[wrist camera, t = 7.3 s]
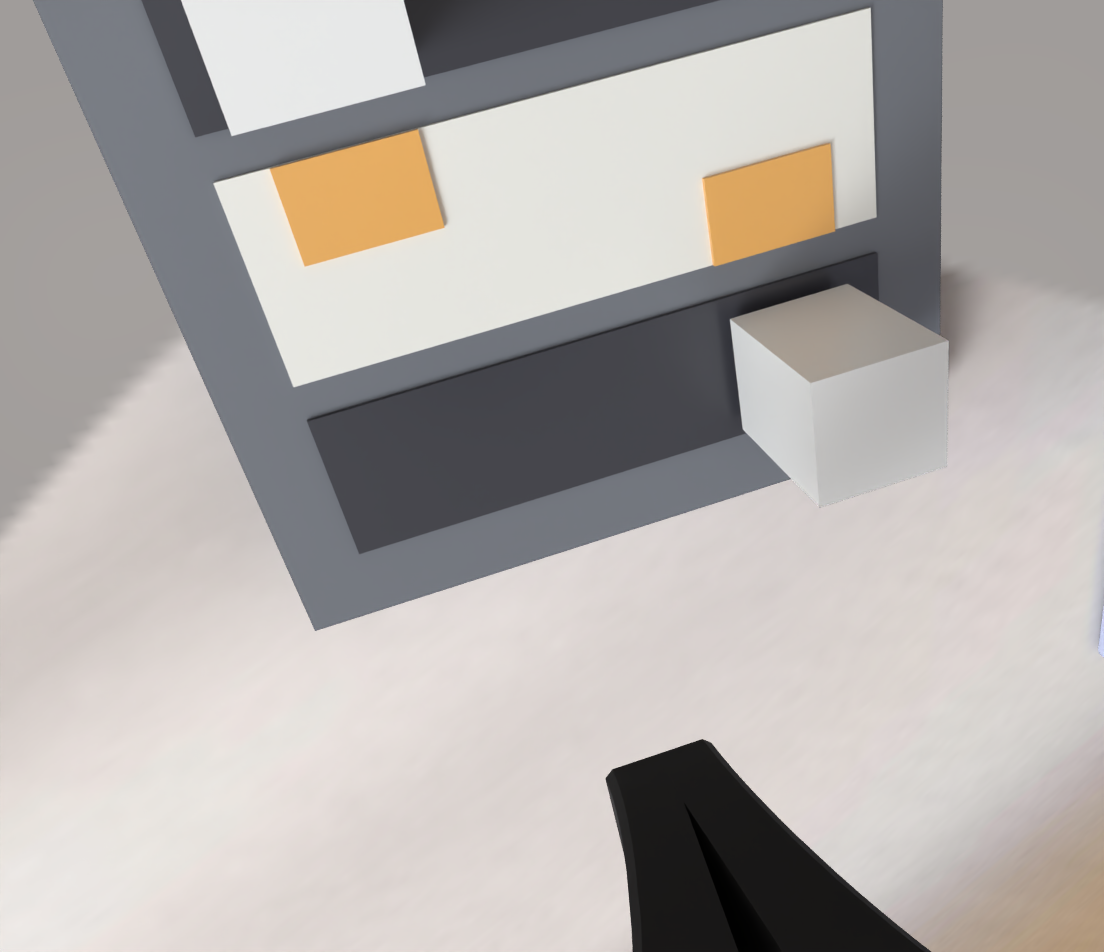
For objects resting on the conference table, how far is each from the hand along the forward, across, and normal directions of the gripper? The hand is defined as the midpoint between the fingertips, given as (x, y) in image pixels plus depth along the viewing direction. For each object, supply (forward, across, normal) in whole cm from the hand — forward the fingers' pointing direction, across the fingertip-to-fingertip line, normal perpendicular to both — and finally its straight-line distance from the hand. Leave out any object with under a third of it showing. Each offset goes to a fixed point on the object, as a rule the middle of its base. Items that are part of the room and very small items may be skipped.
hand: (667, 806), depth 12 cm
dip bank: (+9, -2, -6) cm, 11 cm away
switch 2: (+7, -6, -2) cm, 9 cm away
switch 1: (+7, +2, -10) cm, 12 cm away
